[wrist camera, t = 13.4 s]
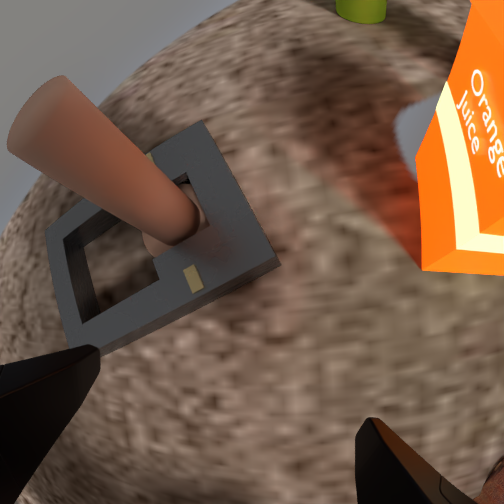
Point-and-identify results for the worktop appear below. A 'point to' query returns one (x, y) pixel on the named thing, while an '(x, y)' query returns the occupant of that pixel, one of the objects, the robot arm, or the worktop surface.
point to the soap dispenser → (362, 10)
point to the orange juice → (467, 155)
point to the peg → (103, 165)
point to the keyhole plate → (168, 263)
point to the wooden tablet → (493, 487)
